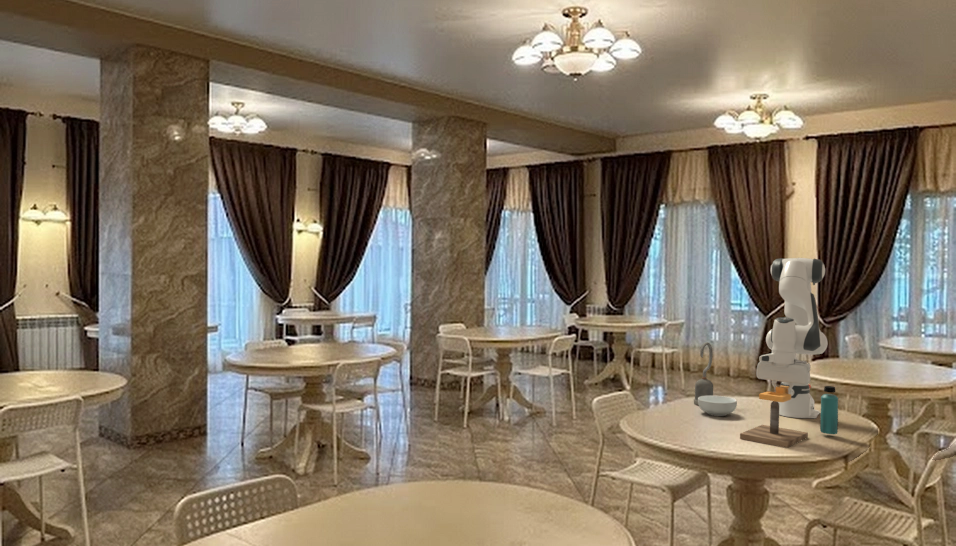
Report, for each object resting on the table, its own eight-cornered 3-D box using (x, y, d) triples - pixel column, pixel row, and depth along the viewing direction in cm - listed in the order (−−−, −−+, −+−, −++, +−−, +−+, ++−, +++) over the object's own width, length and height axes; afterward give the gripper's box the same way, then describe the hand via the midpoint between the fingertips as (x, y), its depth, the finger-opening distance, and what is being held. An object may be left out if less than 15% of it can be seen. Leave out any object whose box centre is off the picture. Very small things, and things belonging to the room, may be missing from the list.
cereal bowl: (697, 409, 335) (697, 394, 335) (735, 411, 330) (735, 396, 330) (698, 416, 318) (698, 400, 318) (737, 419, 314) (738, 403, 314)
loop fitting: (773, 394, 292) (774, 384, 292) (796, 397, 286) (796, 387, 286) (759, 398, 282) (759, 388, 281) (782, 402, 275) (782, 392, 275)
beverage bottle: (839, 438, 283) (841, 388, 283) (821, 437, 285) (823, 387, 284) (835, 434, 290) (836, 385, 289) (817, 433, 291) (819, 384, 291)
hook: (719, 404, 347) (721, 342, 347) (708, 407, 339) (710, 344, 338) (701, 401, 354) (702, 340, 353) (689, 404, 345) (690, 342, 345)
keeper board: (762, 429, 296) (763, 394, 296) (807, 437, 284) (808, 400, 284) (739, 438, 280) (740, 401, 280) (787, 447, 268) (788, 408, 268)
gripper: (813, 360, 282) (812, 395, 282) (761, 354, 296) (760, 388, 296) (807, 362, 278) (806, 397, 278) (755, 356, 292) (754, 390, 292)
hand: (782, 392), depth 287 cm, fingers closed on loop fitting, 3 cm apart
